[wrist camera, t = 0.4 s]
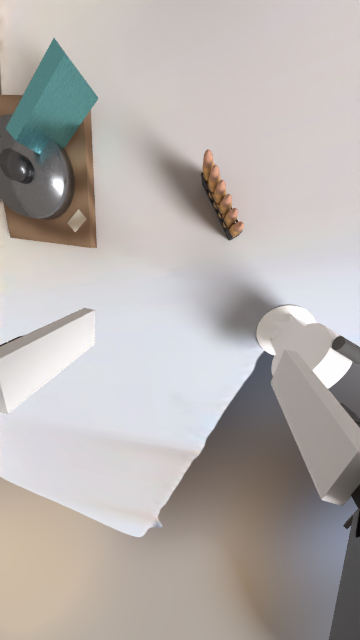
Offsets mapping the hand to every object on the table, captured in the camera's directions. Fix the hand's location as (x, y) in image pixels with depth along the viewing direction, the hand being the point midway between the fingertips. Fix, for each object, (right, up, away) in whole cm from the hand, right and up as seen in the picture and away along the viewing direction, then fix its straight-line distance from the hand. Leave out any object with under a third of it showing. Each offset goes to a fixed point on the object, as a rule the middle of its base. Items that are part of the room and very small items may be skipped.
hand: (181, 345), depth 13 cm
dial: (-22, +30, +19) cm, 42 cm away
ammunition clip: (+7, +21, +21) cm, 30 cm away
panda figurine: (+21, -1, +26) cm, 34 cm away
